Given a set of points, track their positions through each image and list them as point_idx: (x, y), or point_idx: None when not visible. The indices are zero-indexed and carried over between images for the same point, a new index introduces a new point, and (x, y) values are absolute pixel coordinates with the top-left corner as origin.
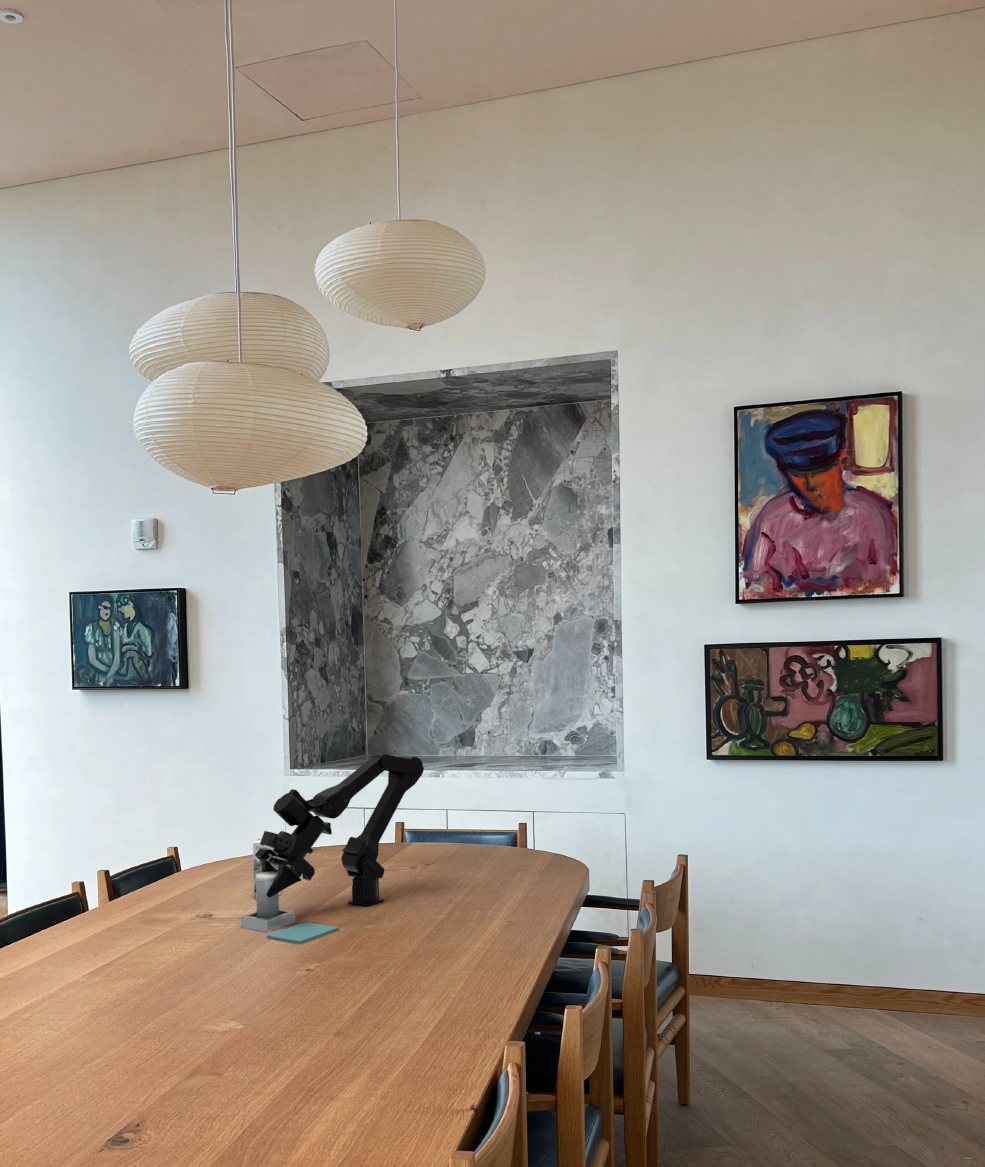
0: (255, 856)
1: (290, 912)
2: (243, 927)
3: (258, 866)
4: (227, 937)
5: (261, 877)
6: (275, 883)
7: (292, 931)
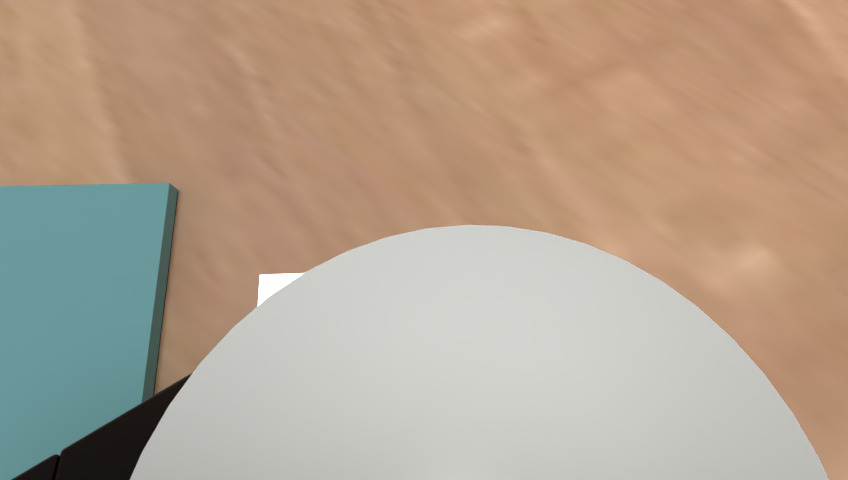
0: None
1: None
2: None
3: None
4: (424, 104)
5: (381, 248)
6: (92, 437)
7: (50, 334)
